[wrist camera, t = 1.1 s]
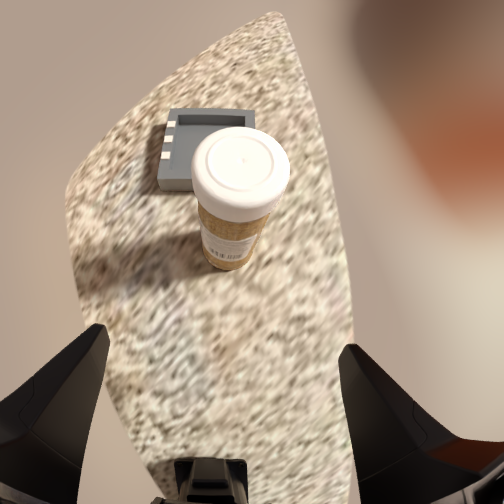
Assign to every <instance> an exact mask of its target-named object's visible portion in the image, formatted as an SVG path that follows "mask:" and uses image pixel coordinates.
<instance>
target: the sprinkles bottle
mask: <svg viewBox="0 0 504 504" xmlns="http://www.w3.org/2000/svg"><path fill="white" fill-rule="evenodd" d="M191 173H192V183H193V189H194V193H195V196H196V197H197V199H198V214H199V222H200V229H201V236H202V241H203V245H202V247H203V252H204V255H205V257H206V259H207V260H208V261H209V263H211V264H212V265H213V266H215V267H216V268H219V269H222V270H235V269H237V268H240V267H242V266H243V265H245V264H246V263H247V262H248V261H249V259H250V257H251V255H252V253H253V248H254V247H255V246H256V244H257V242H258V240H259V238H260V236H261V234H262V231H263V228H264V226H265V223H266V221H267V219H268V217H269V214H270V212H271V211H272V210H273V209H274V208H275V207H276V206H277V204H278V203H279V201H280V199H281V197H282V195H283V193H284V191H285V188H286V186H287V183H288V181H289V176H290V164H289V161H288V157H287V155H286V153H285V151H284V150H283V148H282V147H281V146H280V144H279V143H278V142H277V141H276V140H274V139H273V138H272V137H271V136H269V135H267V134H265V133H263V132H261V131H259V130H256V129H252V128H248V127H230V128H225V129H221V130H218V131H216V132H214V133H212V134H210V135H209V136H207V137H206V138H205V139H204V140H203V141H202V142H201V143H200V144H199V145H198V147H197V148H196V150H195V152H194V155H193V158H192V163H191Z"/></svg>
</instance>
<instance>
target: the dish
mask: <svg viewBox="0 0 504 504" xmlns="http://www.w3.org/2000/svg"><path fill="white" fill-rule="evenodd" d="M230 127H248V128H252V129H255V110H241V109H218V108H176V109H170V112H169V117H168V121H167V126H166V131H165V136H164V141H163V146H162V152H161V157H160V163H159V169H158V175H157V181H158V184H159V187H160V189H161V191H194V189H193V183H192V173H191V163H192V158H193V155H194V152H195V150H196V148H197V147H198V145H199V144H200V143H201V142H202V141H203V140H204V139H205V138H206V137H207V136H209V135H210V134H212V133H214V132H216V131H218V130H221V129H225V128H230Z"/></svg>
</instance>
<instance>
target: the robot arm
mask: <svg viewBox="0 0 504 504" xmlns="http://www.w3.org/2000/svg"><path fill="white" fill-rule="evenodd" d="M109 346H110V339H109V336H108V332H107V329H106V326H105V325H103V324H98V323H95V324H93V325H92V326H90V327H89V328H88V329H87V330H86V331H84V332H83V333H82V334H81V335H80V336H78V337H77V338H76V339H75V340H74V341H72V342H71V343H70V344H69V345H68V346H66V347H65V348H64V349H63V350H62V351H61V352H60V353H58V354H57V355H56V356H55V357H53V358H52V359H51V360H50V361H49V362H48V363H47V364H45V365H44V366H43V367H42V368H41V369H40V370H39V371H37V372H36V373H35V374H34V376H32V377H31V378H29V379H28V380H27V381H26V382H25V383H24V384H22V385H21V386H20V387H19V388H18V389H16V390H15V391H14V392H13V393H11V394H10V395H9V396H7V397H6V398H4V399H3V400H2V401H0V504H77V496H78V489H79V482H80V476H81V468H82V463H83V458H84V453H85V448H86V443H87V439H88V435H89V430H90V426H91V422H92V418H93V414H94V410H95V406H96V403H97V399H98V395H99V392H100V388H101V385H102V381H103V377H104V372H105V366H106V361H107V356H108V351H109ZM338 364H339V373H340V382H341V392H342V398H343V403H344V408H345V413H346V418H347V423H348V428H349V433H350V438H351V444H352V449H353V455H354V460H355V466H356V472H357V479H358V486H359V493H360V500H361V504H504V442H489V441H478V440H468V439H462V438H460V437H458V436H456V435H454V434H452V433H451V432H450V431H449V430H448V429H446V428H445V427H444V426H443V425H441V424H440V423H439V422H438V421H437V420H435V419H434V418H433V417H431V415H429V414H428V413H427V412H426V411H425V410H424V409H423V408H422V407H421V406H420V405H418V403H417V402H415V401H413V399H412V398H411V397H410V396H409V395H408V394H407V393H406V392H405V391H404V390H403V389H402V388H401V387H400V386H399V385H398V384H397V383H396V382H395V381H394V380H393V379H392V378H391V377H390V376H389V375H388V374H387V373H386V372H385V371H384V370H383V369H382V368H381V367H380V366H379V365H378V364H377V363H376V362H375V361H374V360H373V359H372V358H371V357H370V356H369V355H368V354H367V353H366V352H365V351H364V350H362V348H360V347H359V346H358V345H357V344H347V345H346V346H345V347H344V349H343V351H342V353H341V354H340V356H339V359H338ZM178 463H181V464H182V465H178ZM240 463H243V465H241V466H240V465H239V464H240ZM174 467H175V474H176V481H177V487H178V493H179V499H178V501H177V500H170V499H163V498H160V497H156V498H155V499H154V501H153V502H151V504H248V479H247V463H246V461H245V460H243V459H236V460H224V459H199V458H196V459H195V460H191V459H177V460H175V462H174ZM269 504H271V503H269Z"/></svg>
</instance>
